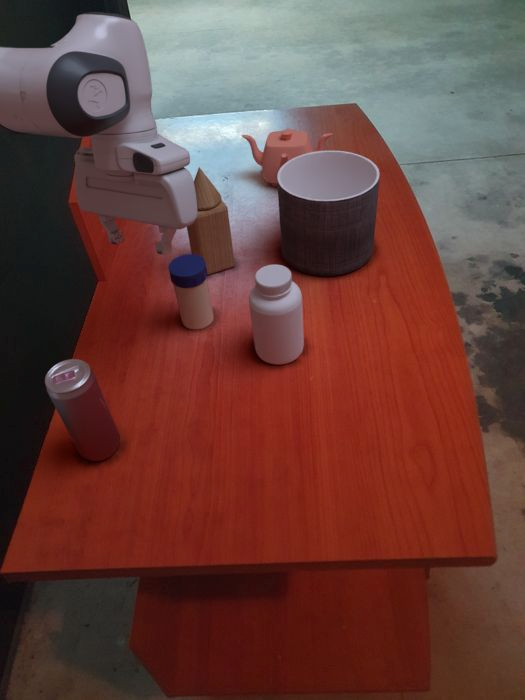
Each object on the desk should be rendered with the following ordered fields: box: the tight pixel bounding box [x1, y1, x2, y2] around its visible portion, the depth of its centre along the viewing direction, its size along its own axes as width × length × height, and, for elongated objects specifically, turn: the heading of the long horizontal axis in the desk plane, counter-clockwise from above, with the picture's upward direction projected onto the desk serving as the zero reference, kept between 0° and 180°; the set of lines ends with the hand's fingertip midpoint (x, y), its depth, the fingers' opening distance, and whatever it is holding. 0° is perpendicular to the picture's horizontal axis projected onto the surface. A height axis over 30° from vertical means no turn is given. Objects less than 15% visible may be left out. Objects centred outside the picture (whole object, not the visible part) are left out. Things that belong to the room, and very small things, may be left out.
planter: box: [277, 150, 381, 277], centre depth 105 cm, size 18×18×16 cm
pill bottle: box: [248, 264, 305, 366], centre depth 87 cm, size 8×8×15 cm
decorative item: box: [186, 166, 235, 276], centre depth 103 cm, size 7×7×20 cm
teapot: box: [241, 127, 334, 187], centre depth 127 cm, size 14×14×11 cm
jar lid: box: [168, 253, 209, 288], centre depth 92 cm, size 6×6×2 cm
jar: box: [172, 277, 215, 330], centre depth 95 cm, size 6×6×11 cm
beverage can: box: [44, 358, 121, 462], centre depth 76 cm, size 6×6×15 cm
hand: (140, 248), depth 84 cm, fingers open, 8 cm apart
